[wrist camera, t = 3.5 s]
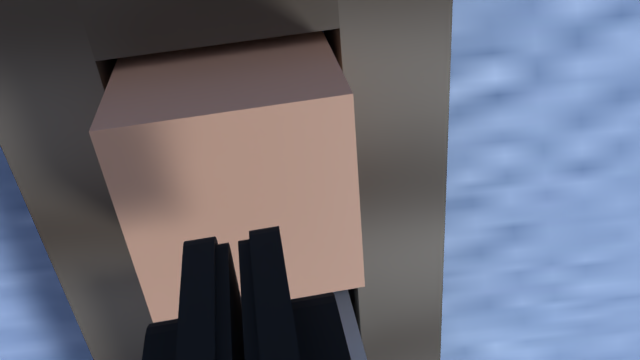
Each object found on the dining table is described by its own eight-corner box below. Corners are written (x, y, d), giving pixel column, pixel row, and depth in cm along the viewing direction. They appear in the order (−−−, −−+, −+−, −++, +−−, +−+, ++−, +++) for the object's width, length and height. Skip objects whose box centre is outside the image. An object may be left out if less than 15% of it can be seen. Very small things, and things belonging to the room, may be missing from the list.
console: (-32, -75, 14) (-85, -50, 12) (416, -126, 15) (456, -114, 12) (195, 520, 29) (193, 588, 26) (415, 476, 30) (433, 538, 27)
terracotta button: (121, 49, 15) (88, 131, 11) (318, 23, 15) (352, 93, 11) (166, 212, 17) (153, 322, 14) (333, 185, 18) (365, 286, 14)
